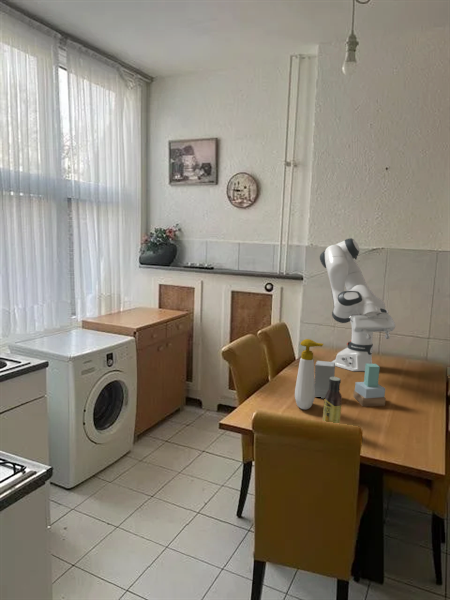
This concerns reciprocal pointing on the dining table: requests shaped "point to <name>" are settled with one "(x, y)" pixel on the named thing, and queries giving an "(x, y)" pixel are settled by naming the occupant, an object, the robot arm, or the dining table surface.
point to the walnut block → (369, 400)
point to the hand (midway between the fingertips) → (378, 338)
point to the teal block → (371, 375)
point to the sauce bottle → (332, 401)
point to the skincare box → (323, 377)
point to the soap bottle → (306, 376)
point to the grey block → (369, 390)
